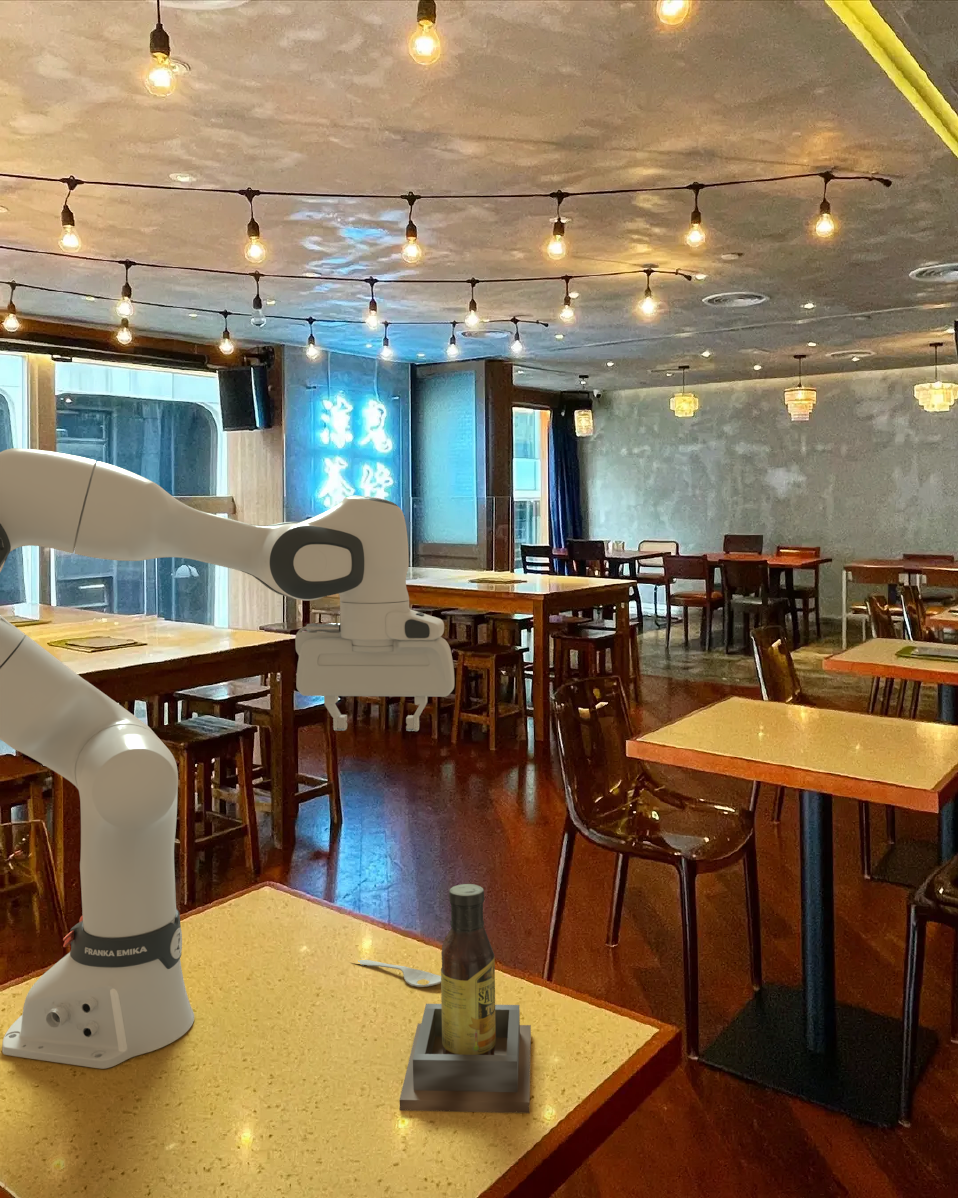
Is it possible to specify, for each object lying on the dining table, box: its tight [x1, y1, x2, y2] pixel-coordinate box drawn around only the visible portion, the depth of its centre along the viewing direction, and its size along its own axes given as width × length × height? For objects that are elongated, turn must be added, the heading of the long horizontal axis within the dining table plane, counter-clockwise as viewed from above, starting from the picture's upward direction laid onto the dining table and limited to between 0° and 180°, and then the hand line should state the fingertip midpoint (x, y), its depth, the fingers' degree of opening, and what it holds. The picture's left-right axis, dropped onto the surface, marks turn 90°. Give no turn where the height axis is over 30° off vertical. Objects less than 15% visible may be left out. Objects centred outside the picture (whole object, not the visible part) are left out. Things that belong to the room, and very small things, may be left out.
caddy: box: [398, 1003, 532, 1114], centre depth 113 cm, size 14×16×5 cm
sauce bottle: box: [440, 883, 496, 1055], centre depth 113 cm, size 6×6×20 cm
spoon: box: [358, 959, 441, 988], centre depth 138 cm, size 4×21×2 cm, turn 56°
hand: (376, 730), depth 126 cm, fingers open, 8 cm apart
